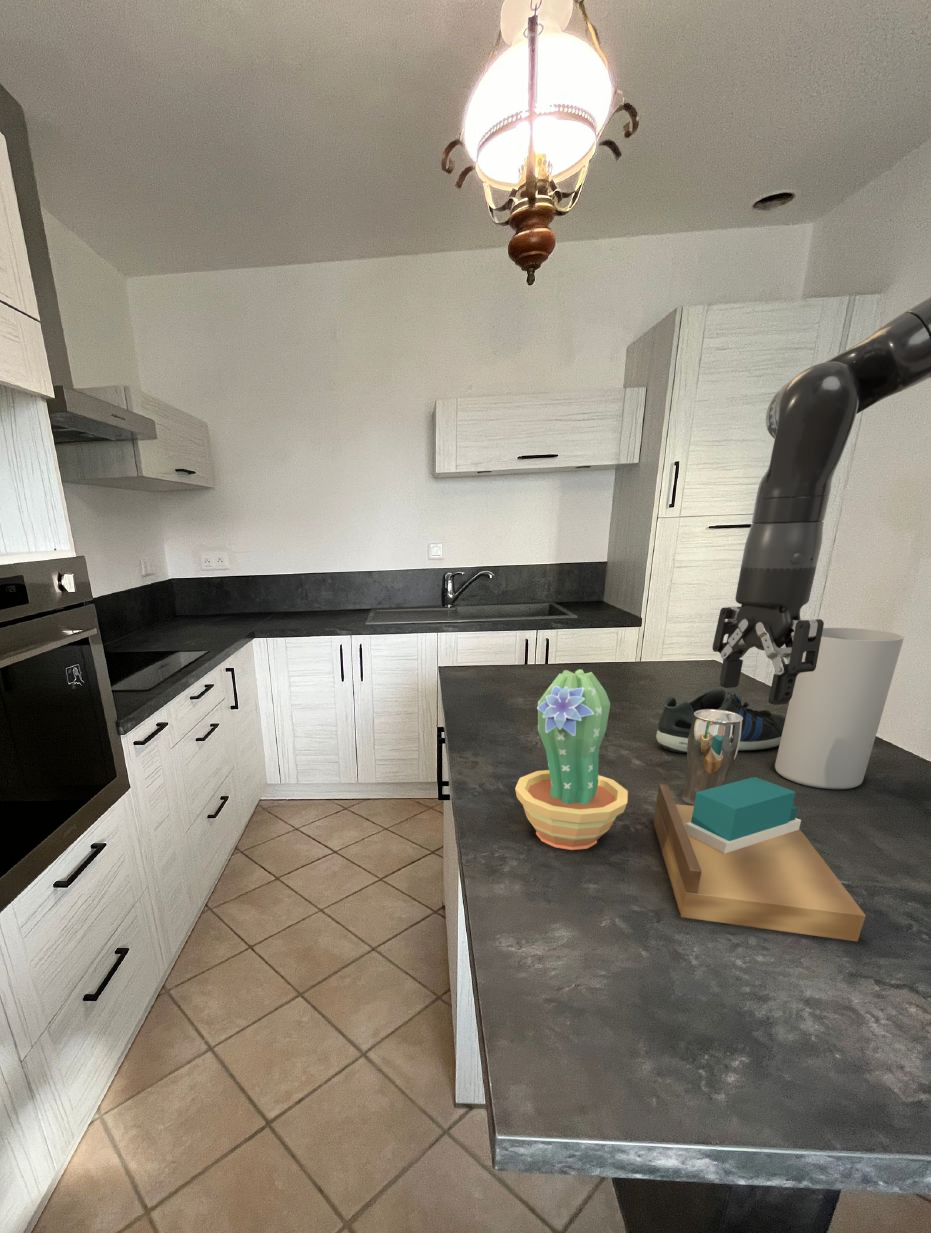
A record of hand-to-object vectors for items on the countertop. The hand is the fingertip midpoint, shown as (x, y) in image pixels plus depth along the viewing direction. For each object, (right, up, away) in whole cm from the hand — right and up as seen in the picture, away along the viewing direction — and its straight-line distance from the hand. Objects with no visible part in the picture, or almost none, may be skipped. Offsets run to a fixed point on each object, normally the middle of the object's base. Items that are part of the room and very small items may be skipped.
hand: (751, 694), depth 76 cm
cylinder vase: (+30, -12, +28) cm, 42 cm away
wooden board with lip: (-2, -23, 0) cm, 24 cm away
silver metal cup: (+5, -16, +20) cm, 26 cm away
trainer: (+1, -18, +3) cm, 18 cm away
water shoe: (+23, -6, +44) cm, 50 cm away
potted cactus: (-20, -20, +11) cm, 31 cm away
